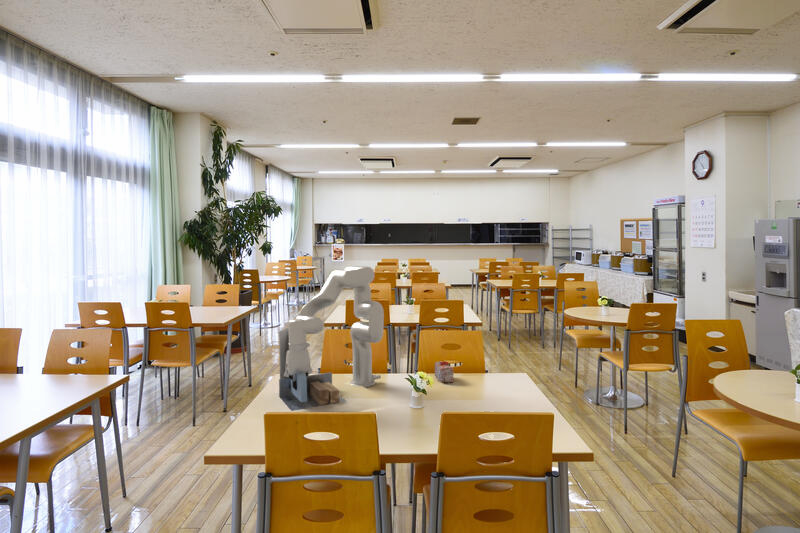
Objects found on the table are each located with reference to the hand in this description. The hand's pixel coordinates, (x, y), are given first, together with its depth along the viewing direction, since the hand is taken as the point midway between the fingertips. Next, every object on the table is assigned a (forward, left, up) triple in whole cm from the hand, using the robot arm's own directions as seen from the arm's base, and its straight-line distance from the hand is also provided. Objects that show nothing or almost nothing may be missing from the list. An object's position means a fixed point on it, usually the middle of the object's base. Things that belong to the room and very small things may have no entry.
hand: (298, 388), depth 209 cm
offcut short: (-14, 0, -6) cm, 16 cm away
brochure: (-3, -22, -7) cm, 23 cm away
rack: (-7, -1, -7) cm, 10 cm away
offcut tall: (-9, 0, -6) cm, 11 cm away
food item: (-76, -1, -8) cm, 77 cm away
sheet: (0, 0, -4) cm, 4 cm away
